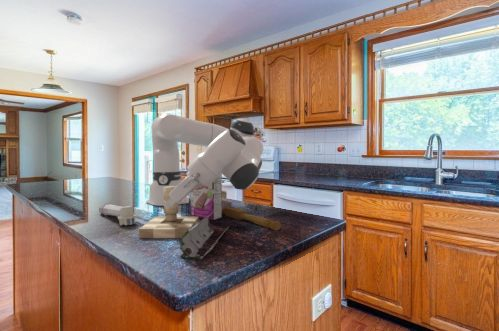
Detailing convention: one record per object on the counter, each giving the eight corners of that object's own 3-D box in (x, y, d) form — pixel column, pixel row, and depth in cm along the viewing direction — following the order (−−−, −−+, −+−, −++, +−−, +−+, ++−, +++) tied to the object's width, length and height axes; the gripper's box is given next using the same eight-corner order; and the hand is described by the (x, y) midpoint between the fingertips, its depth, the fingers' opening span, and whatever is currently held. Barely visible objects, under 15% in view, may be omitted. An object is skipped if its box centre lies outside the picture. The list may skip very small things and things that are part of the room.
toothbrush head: (111, 202, 118) (137, 202, 100) (112, 220, 118) (139, 223, 100) (96, 204, 115) (121, 204, 96) (98, 222, 114) (123, 226, 96)
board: (155, 224, 101) (155, 216, 100) (198, 224, 100) (198, 216, 100) (139, 237, 86) (138, 229, 85) (189, 238, 85) (189, 229, 85)
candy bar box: (189, 216, 111) (189, 171, 110) (199, 213, 116) (198, 170, 114) (213, 220, 105) (213, 173, 104) (222, 217, 109) (222, 172, 108)
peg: (166, 227, 97) (165, 186, 96) (179, 227, 97) (179, 186, 96) (162, 230, 93) (161, 187, 92) (176, 230, 92) (175, 187, 92)
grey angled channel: (190, 271, 69) (216, 239, 94) (211, 250, 69) (232, 224, 93) (168, 247, 70) (199, 222, 95) (189, 227, 69) (215, 206, 94)
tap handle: (274, 222, 92) (220, 206, 116) (274, 232, 93) (220, 214, 116) (281, 220, 94) (226, 205, 118) (281, 230, 95) (226, 213, 118)
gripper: (203, 184, 83) (168, 219, 84) (212, 176, 103) (184, 205, 104) (186, 168, 83) (151, 203, 84) (199, 163, 103) (171, 192, 104)
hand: (169, 204), depth 94 cm, fingers open, 8 cm apart
